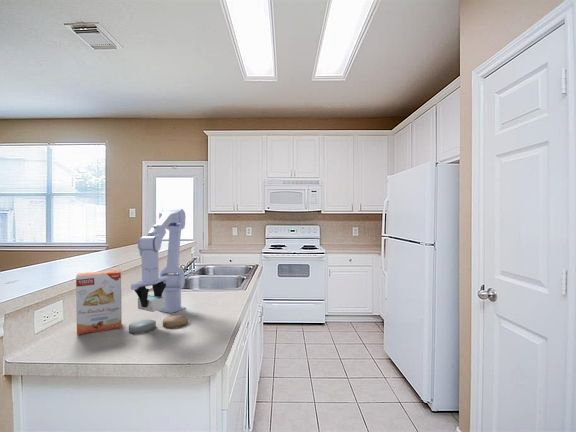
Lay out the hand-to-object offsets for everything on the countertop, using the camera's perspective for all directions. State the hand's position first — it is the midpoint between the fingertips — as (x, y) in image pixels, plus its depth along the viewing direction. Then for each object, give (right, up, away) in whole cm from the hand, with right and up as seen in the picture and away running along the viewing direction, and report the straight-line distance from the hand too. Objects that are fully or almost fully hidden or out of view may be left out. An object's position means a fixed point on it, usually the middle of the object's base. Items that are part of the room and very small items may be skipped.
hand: (150, 304), depth 116 cm
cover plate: (0, +2, 0) cm, 2 cm away
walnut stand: (+8, -8, +3) cm, 12 cm away
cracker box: (-18, -9, -1) cm, 20 cm away
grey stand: (-3, -8, -1) cm, 9 cm away
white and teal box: (0, -1, 0) cm, 1 cm away
